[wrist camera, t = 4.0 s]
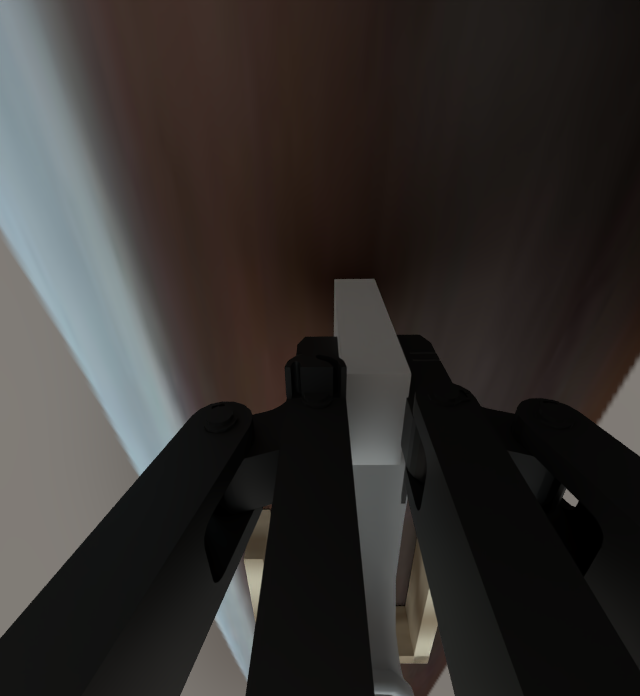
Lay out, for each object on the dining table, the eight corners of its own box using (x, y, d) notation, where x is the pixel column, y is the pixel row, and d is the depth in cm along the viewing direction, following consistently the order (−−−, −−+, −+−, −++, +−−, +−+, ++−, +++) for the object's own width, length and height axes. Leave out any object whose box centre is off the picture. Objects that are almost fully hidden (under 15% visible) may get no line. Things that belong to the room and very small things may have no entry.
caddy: (253, 509, 22) (243, 559, 19) (439, 509, 22) (455, 559, 19) (268, 613, 27) (263, 662, 25) (417, 613, 27) (427, 663, 25)
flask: (422, 501, 22) (489, 744, 13) (303, 522, 23) (290, 761, 14) (401, 404, 18) (473, 643, 10) (263, 434, 19) (213, 675, 10)
